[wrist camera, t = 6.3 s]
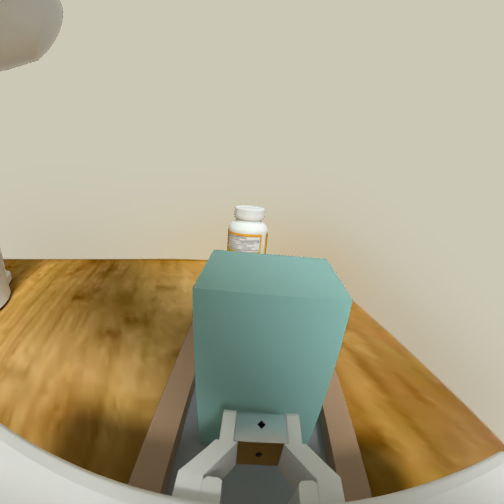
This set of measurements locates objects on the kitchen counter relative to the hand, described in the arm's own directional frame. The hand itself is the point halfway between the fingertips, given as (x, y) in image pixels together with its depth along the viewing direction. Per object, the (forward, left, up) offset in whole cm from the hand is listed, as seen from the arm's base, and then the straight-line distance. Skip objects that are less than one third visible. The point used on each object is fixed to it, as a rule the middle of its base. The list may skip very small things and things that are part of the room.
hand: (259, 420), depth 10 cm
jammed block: (0, +4, -6) cm, 7 cm away
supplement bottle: (-2, +30, -6) cm, 31 cm away
